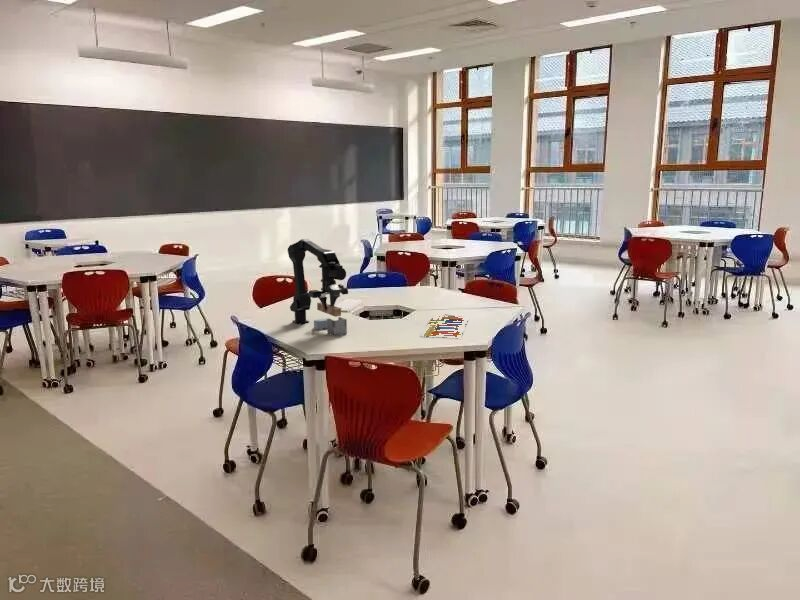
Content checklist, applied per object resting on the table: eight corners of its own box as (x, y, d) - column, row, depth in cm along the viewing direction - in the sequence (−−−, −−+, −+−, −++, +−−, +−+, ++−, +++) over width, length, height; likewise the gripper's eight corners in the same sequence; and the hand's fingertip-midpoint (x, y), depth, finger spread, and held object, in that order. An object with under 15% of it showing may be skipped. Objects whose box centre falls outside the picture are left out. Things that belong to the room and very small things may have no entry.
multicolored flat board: (433, 312, 318) (470, 313, 314) (433, 316, 319) (469, 318, 315) (419, 332, 275) (460, 335, 271) (419, 338, 276) (460, 340, 272)
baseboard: (365, 302, 357) (346, 301, 359) (365, 297, 356) (346, 296, 359) (351, 313, 327) (330, 312, 329) (351, 308, 326) (330, 307, 329)
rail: (317, 309, 292) (317, 302, 291) (322, 309, 294) (322, 302, 293) (335, 316, 278) (335, 309, 277) (341, 315, 279) (340, 308, 279)
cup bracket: (327, 333, 282) (327, 318, 281) (340, 331, 286) (340, 317, 284) (333, 336, 277) (333, 321, 276) (346, 333, 281) (346, 319, 280)
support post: (314, 328, 292) (313, 320, 291) (328, 325, 297) (328, 317, 296) (317, 329, 289) (317, 321, 288) (332, 327, 293) (332, 319, 293)
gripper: (318, 282, 271) (319, 315, 274) (353, 278, 281) (354, 310, 284) (307, 278, 280) (308, 311, 283) (342, 275, 290) (342, 306, 293)
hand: (328, 310), depth 286 cm, fingers closed on rail, 3 cm apart
